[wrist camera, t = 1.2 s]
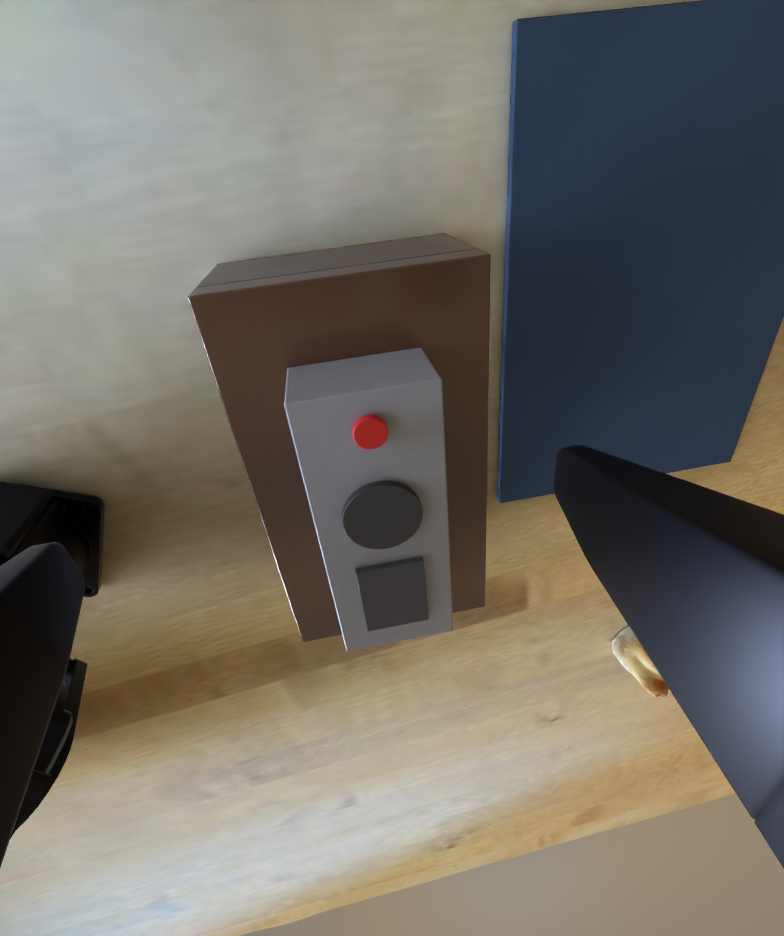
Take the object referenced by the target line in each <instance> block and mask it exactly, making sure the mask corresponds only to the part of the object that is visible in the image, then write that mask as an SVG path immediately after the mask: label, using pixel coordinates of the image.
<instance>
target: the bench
mask: <svg viewBox="0 0 784 936" xmlns="http://www.w3.org/2000/svg"><path fill="white" fill-rule="evenodd" d="M188 300H189V303H190V306H191V309H192V312H193V315H194V318H195V321H196V324H197V327H198V330H199V333H200V336H201V339H202V342H203V345H204V348H205V351H206V354H207V357H208V360H209V363H210V366H211V369H212V372H213V375H214V378H215V381H216V384H217V387H218V390H219V393H220V396H221V399H222V402H223V405H224V408H225V411H226V414H227V417H228V420H229V423H230V426H231V429H232V432H233V435H234V438H235V441H236V444H237V447H238V450H239V453H240V456H241V459H242V462H243V465H244V468H245V471H246V474H247V477H248V480H249V483H250V486H251V489H252V492H253V495H254V498H255V501H256V504H257V507H258V510H259V513H260V516H261V519H262V522H263V525H264V528H265V531H266V534H267V537H268V540H269V543H270V546H271V549H272V552H273V555H274V558H275V561H276V564H277V567H278V570H279V573H280V576H281V579H282V582H283V585H284V588H285V591H286V594H287V597H288V600H289V603H290V606H291V609H292V612H293V615H294V618H295V621H296V624H297V627H298V630H299V633H300V636H301V639H302V641H303V642H307V641H312V640H317V639H322V638H327V637H332V636H337V635H342V631H341V628H340V624H339V620H338V616H337V612H336V608H335V604H334V600H333V596H332V592H331V588H330V584H329V580H328V576H327V572H326V569H325V565H324V561H323V557H322V553H321V549H320V545H319V541H318V537H317V533H316V529H315V525H314V521H313V517H312V513H311V509H310V506H309V502H308V498H307V494H306V490H305V486H304V482H303V478H302V474H301V470H300V466H299V462H298V458H297V454H296V450H295V447H294V443H293V439H292V435H291V431H290V427H289V423H288V419H287V415H286V411H285V407H284V400H285V389H286V378H287V369H288V368H290V367H296V366H303V365H309V364H316V363H322V362H329V361H335V360H342V359H348V358H355V357H361V356H368V355H374V354H381V353H388V352H394V351H401V350H407V349H414V348H422V349H423V351H424V352H425V354H426V356H427V357H428V359H429V360H430V362H431V363H432V365H433V366H434V368H435V369H436V371H437V373H438V374H439V376H440V377H441V379H442V385H443V408H444V431H445V454H446V477H447V500H448V523H449V546H450V570H451V593H452V613H454V612H459V611H464V610H469V609H474V608H479V607H484V606H485V571H486V508H487V445H488V381H489V318H490V254H488V253H486V252H483V251H481V250H479V249H477V248H475V247H473V246H471V245H469V244H467V243H464V242H462V241H460V240H458V239H456V238H454V237H452V236H449V235H447V234H445V233H442V234H435V235H427V236H420V237H413V238H405V239H398V240H390V241H383V242H376V243H368V244H361V245H353V246H346V247H338V248H331V249H324V250H316V251H309V252H301V253H294V254H287V255H279V256H272V257H264V258H257V259H249V260H242V261H235V262H227V263H220V264H217V265H216V266H215V267H214V269H213V270H212V271H211V272H210V273H209V274H208V275H207V276H206V277H205V278H204V279H203V280H202V282H201V283H200V284H199V285H198V286H197V287H196V288H195V289H194V291H193V292H192V293H191V294H190V295H189V296H188Z"/></svg>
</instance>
